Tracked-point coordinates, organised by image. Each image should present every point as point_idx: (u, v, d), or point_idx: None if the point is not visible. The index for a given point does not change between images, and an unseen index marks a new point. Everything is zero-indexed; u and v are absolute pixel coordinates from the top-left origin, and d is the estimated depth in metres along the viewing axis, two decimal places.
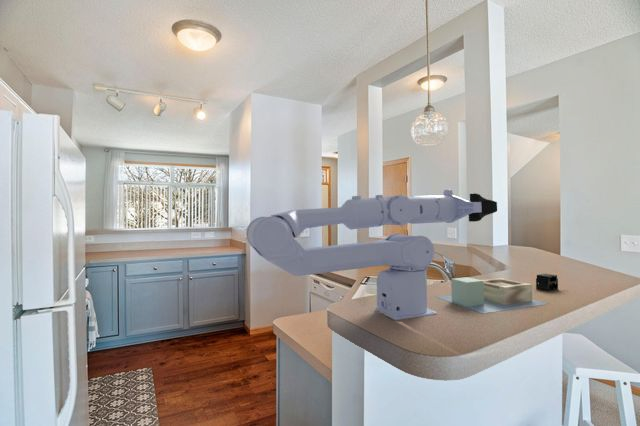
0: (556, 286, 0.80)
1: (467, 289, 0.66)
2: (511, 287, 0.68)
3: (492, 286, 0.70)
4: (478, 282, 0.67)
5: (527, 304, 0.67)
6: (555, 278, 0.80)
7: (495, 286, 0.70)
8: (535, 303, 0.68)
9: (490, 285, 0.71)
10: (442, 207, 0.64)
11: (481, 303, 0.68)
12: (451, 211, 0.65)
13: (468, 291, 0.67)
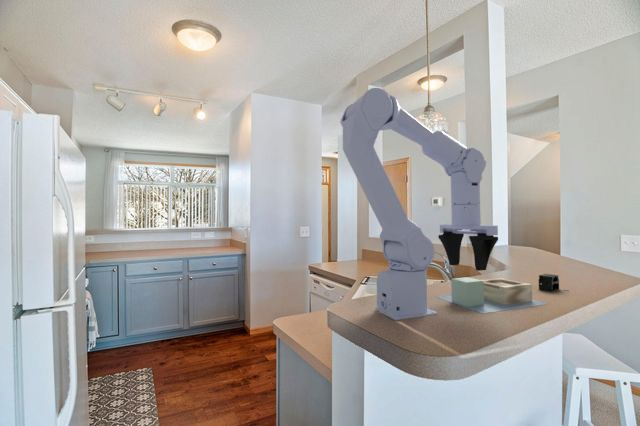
0: (557, 286, 0.80)
1: (467, 289, 0.66)
2: (511, 287, 0.68)
3: (492, 286, 0.70)
4: (478, 282, 0.67)
5: (527, 304, 0.67)
6: (556, 278, 0.80)
7: (495, 286, 0.70)
8: (535, 303, 0.68)
9: (490, 285, 0.71)
10: (476, 208, 0.67)
11: (481, 303, 0.68)
12: (473, 218, 0.67)
13: (468, 291, 0.67)
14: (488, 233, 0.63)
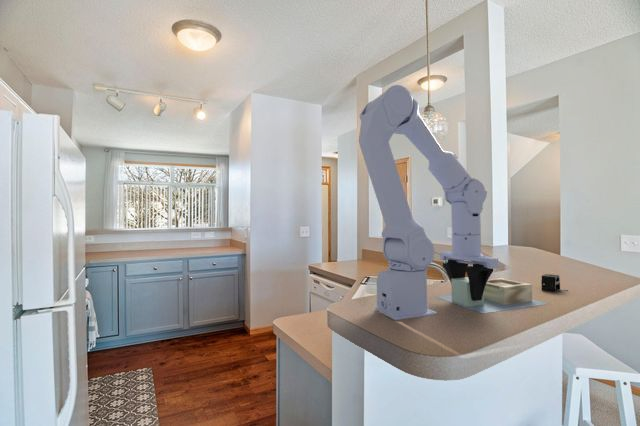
0: (558, 286, 0.80)
1: (467, 289, 0.66)
2: (511, 287, 0.68)
3: (492, 286, 0.70)
4: None
5: (527, 304, 0.67)
6: (558, 278, 0.80)
7: (495, 286, 0.70)
8: (535, 303, 0.68)
9: (490, 285, 0.71)
10: (477, 238, 0.67)
11: (481, 303, 0.68)
12: (474, 249, 0.67)
13: (468, 291, 0.67)
14: (489, 266, 0.63)
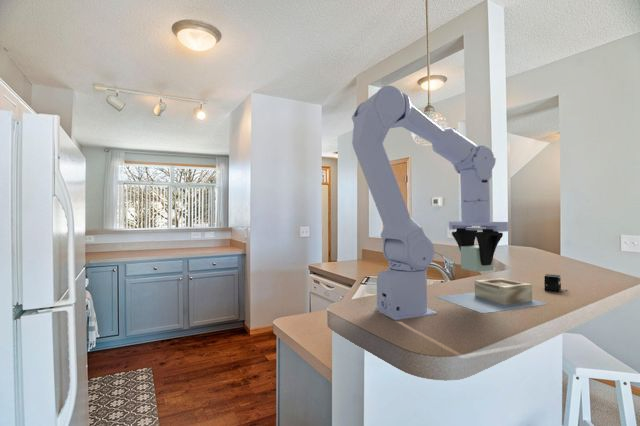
0: (559, 286, 0.80)
1: (476, 254, 0.67)
2: (511, 287, 0.68)
3: (492, 286, 0.70)
4: None
5: (527, 304, 0.67)
6: (559, 278, 0.80)
7: (495, 286, 0.70)
8: (535, 303, 0.68)
9: (490, 285, 0.71)
10: (486, 204, 0.68)
11: (490, 269, 0.69)
12: (483, 215, 0.68)
13: (478, 257, 0.68)
14: (499, 229, 0.64)
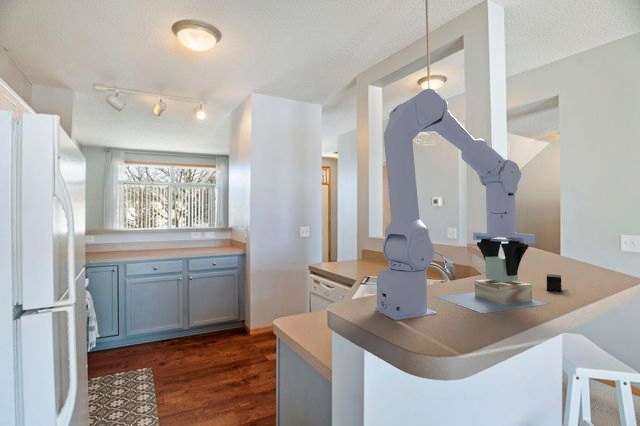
0: None
1: (502, 265, 0.70)
2: (511, 287, 0.68)
3: (492, 286, 0.70)
4: None
5: (527, 304, 0.67)
6: None
7: (495, 286, 0.70)
8: (535, 303, 0.68)
9: (490, 285, 0.71)
10: (512, 217, 0.70)
11: (515, 279, 0.71)
12: (509, 227, 0.70)
13: (504, 268, 0.70)
14: (526, 241, 0.66)
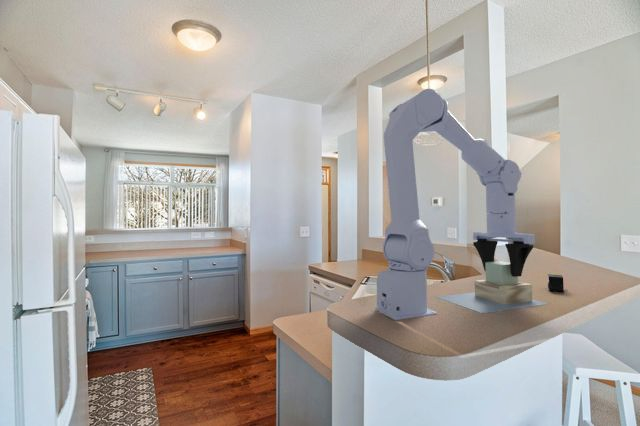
0: (560, 286, 0.80)
1: (502, 271, 0.70)
2: (511, 287, 0.68)
3: (492, 286, 0.70)
4: None
5: (527, 304, 0.67)
6: None
7: (495, 286, 0.70)
8: (535, 303, 0.68)
9: (490, 285, 0.71)
10: (512, 217, 0.70)
11: None
12: (509, 227, 0.70)
13: (504, 274, 0.70)
14: (526, 241, 0.66)
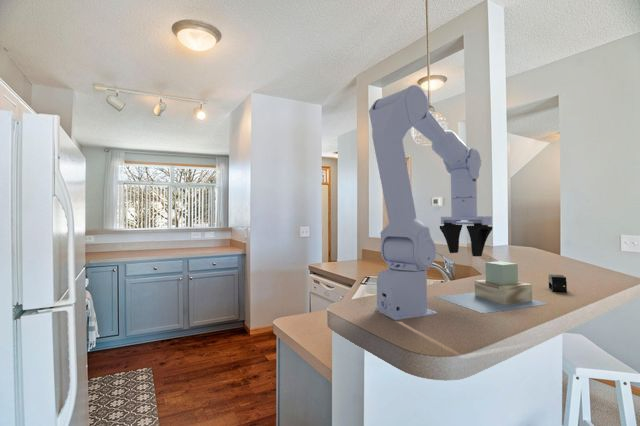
0: None
1: (502, 271, 0.70)
2: (511, 287, 0.68)
3: (492, 286, 0.70)
4: (512, 265, 0.71)
5: (527, 304, 0.67)
6: None
7: (495, 286, 0.70)
8: (535, 303, 0.68)
9: (490, 285, 0.71)
10: (473, 201, 0.75)
11: None
12: (470, 210, 0.75)
13: (504, 274, 0.70)
14: (483, 223, 0.71)
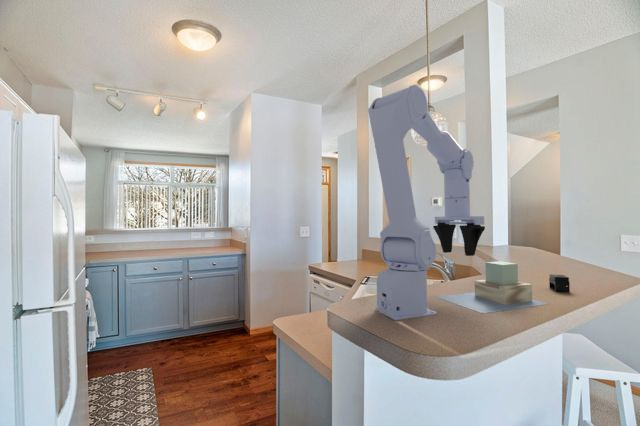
0: None
1: (502, 271, 0.70)
2: (511, 287, 0.68)
3: (492, 286, 0.70)
4: (512, 265, 0.71)
5: (527, 304, 0.67)
6: None
7: (495, 286, 0.70)
8: (535, 303, 0.68)
9: (490, 285, 0.71)
10: (466, 201, 0.76)
11: None
12: (463, 210, 0.76)
13: (504, 274, 0.70)
14: (476, 223, 0.72)
